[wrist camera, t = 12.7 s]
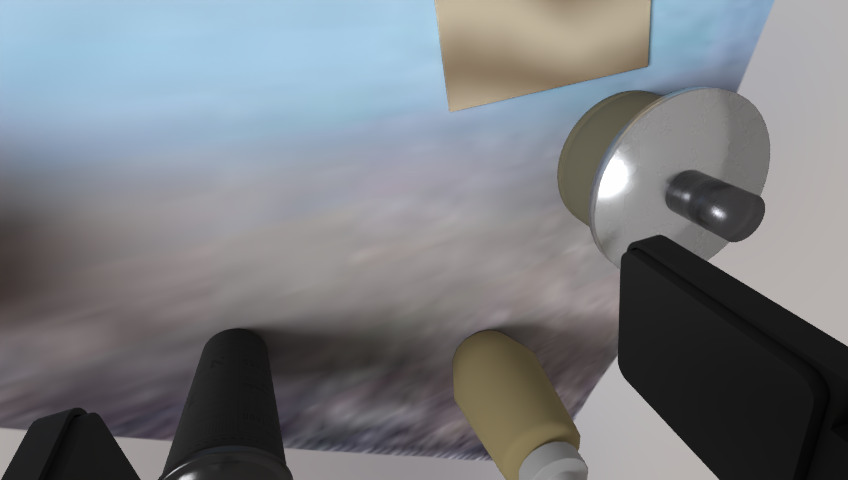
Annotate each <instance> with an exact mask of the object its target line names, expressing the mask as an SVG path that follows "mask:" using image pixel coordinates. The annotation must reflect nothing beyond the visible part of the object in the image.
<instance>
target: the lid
mask: <svg viewBox="0 0 848 480" xmlns="http://www.w3.org/2000/svg"><path fill="white" fill-rule="evenodd" d="M769 161H770V142H769V135H768V131H767V127H766V124H765V122H764V120H763V118H762V116H761V114H760V113H759V111H758V110H757V108H756V107H755V106H754V105H753V104H752V103H751V102H750V101H749V100H747V99H746V98H744V97H743V96H741V95H739V94H737V93H734V92H731V91H728V90H723V89H718V88H713V87H690V88H684V89H681V90H677V91H674V92H671V93H669V94H667V95H665V96H663V97H660V98H659V99H657V100H655V101H654V102H652V103H650V104H649V105H647V106H646V107H645V108H643V109H642V110H641V111H639V112H638V113H637V114H636V115H635V116H634V117H633V118H632V119H631V120H629V121H628V122H627V123H626V124H625V126H624V127H623V128H622V129H621V130H620V131H619V133H618V134H617V135H616V136H615V138H614V139H613V141H612V142H611V144H610V145H609V146H608V148H607V150H606V152H605V153H604V155H603V157H602V159H601V161H600V163H599V165H598V168H597V170H596V172H595V176H594V179H593V182H592V185H591V190H590V196H589V205H588V216H589V225H590V230H591V234H592V236H593V239H594V242H595V244H596V245H597V247H598V249H599V250H600V252H601V253H602V254H603V255H604V256H605V258H607V259H608V260H609V261H610V262H611V263H613V264H614V265H615V266H617V267H618V268H619V269H621V257H622V255H623V254H624V253H625V252H627V248H628V246H629V244H631V243H632V242H635V241H638V240H642V239H645V238H649V237H652V236H655V235H663V236H666V237H668V238H669V239H671V240H673V241H674V242H676V243H678V244H679V245H681V246H683V247H684V248H686V249H687V250H689V251H691V252H692V253H694V254H696V255H697V256H699V257H701V258H702V259H704V260H706V261H707V260H709V259H710V258H711V257H713V256H714V255H715V254H717V253H718V252H719V251H720V250H721V249H722V248H724V247H725V246H726V245H727V244H728V243H729V242H738V241H742V240H744V239H745V238H747V237H749V236H750V235H751V234H752V233H753V232H754V231H755V230H756V229H757V228H758V226H759V225H760V223H761V221H762V219H763V216H764V213H765V203H764V201H763V199H762V198H761V197H760V195H761V193H762V190H763V187H764V184H765V181H766V177H767V173H768V169H769Z"/></svg>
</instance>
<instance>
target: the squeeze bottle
mask: <svg viewBox="0 0 848 480" xmlns="http://www.w3.org/2000/svg"><path fill="white" fill-rule="evenodd" d="M453 382H454V399H455V401H456V403H457V404H458V406H459V407H460V409H461V410H462V412H463V414H464V415H465V417H466V418H467V420H468V421H469V423H470V425H471V426H472V428H473V429H474V431H475V432H476V434H477V436H478V437H479V439H480V440H481V442H482V443H483V445H484V447H485V448H486V450H487V451H488V453H489V454H490V456H491V458H492V459H493V461H494V462H495V464H496V465H497V467H498V468H499V470H500V472H501V473H502V475H503V476H504V478H505V479H506V480H587V474H588V467H587V466H586V464H585V462H584V460H583V459H582V457H581V456H580V454H579V453H578V449H579V444H580V434H579V432H578V431H577V428H576V426H575V424H574V423H573V421H572V419H571V417H570V416H569V414H568V412H567V410H566V408H565V407H564V405H563V403H562V401H561V400H560V398H559V396H558V394H557V393H556V391H555V389H554V387H553V386H552V384H551V382H550V380H549V378H548V377H547V375H546V373H545V371H544V370H543V368H542V366H541V364H540V363H539V361H538V359H537V357H536V355H535V354H534V352H533V351H531V350H530V349H528V348H527V347H525V346H523V345H522V344H520V343H518V342H517V341H515V340H513V339H511V338H510V337H508V336H506V335H504V334H502V333H501V332H498V331H490V330H487V331H483V332H478V333H475V334H474V335H472V336H470V337H469V338H467V339H465V340H464V341H463V343H462V344H461V345H460V346H459V347H458V348H457V350H456V353H455V355H454V358H453Z"/></svg>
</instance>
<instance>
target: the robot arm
mask: <svg viewBox="0 0 848 480" xmlns="http://www.w3.org/2000/svg"><path fill="white" fill-rule="evenodd" d="M618 365H619V368H620V371H621V373H622V375H623V376H624V378H625V379H626V380H627V381H628V382H629V384H630V385H631V386H632V387H633V388H634V389H635V390H636V391H637V392H638V393H639V394H640V395H641V396H642V397H643V399H644V400H645V401H646V402H647V403H648V404H649V405H650V406H651V407H652V408H653V409H654V410H655V411H656V412H657V413H658V414H659V415H660V417H661V418H662V419H663V420H664V421H665V422H666V423H667V424H668V425H669V426H670V427H671V428H672V429H673V431H674V432H675V433H676V434H677V435H678V436H679V437H680V438H681V439H682V440H683V441H684V442H685V443H686V444H687V445H688V447H689V448H690V449H691V450H692V451H693V452H694V453H695V454H696V455H697V456H698V457H699V458H700V459H701V460H702V462H703V463H704V464H705V465H706V466H707V467H708V468H709V469H710V470H711V471H712V472H713V473H714V474H715V475H716V476H717V478H718V479H719V480H848V346H846V345H844V344H843V343H841V342H840V341H838V340H836V339H835V338H833V337H831V336H830V335H828V334H826V333H825V332H823V331H821V330H820V329H818V328H816V327H815V326H813V325H811V324H810V323H808V322H806V321H805V320H803V319H801V318H800V317H798V316H797V315H795V314H793V313H792V312H790V311H788V310H787V309H785V308H783V307H782V306H780V305H778V304H777V303H775V302H773V301H772V300H770V299H768V298H767V297H765V296H763V295H762V294H760V293H759V292H757V291H755V290H754V289H752V288H750V287H749V286H747V285H745V284H744V283H742V282H740V281H739V280H737V279H735V278H734V277H732V276H730V275H729V274H727V273H725V272H724V271H722V270H720V269H719V268H717V267H715V266H714V265H712V264H711V263H709V262H707V261H706V260H704V259H702V258H701V257H699V256H697V255H696V254H694V253H692V252H691V251H689V250H687V249H686V248H684V247H683V246H681V245H679V244H678V243H676V242H674V241H673V240H671V239H669V238H668V237H666V236H663V235H655V236H652V237H649V238H645V239H642V240H638V241H635V242H632V243H631V244H629V246H628V248H627V252H625V253H624V254H623V255H622V257H621V269H620V304H619V339H618ZM1 480H140V478H139V477H138V475H137V473H136V472H135V470H134V469H133V467H132V465H131V464H130V462H129V461H128V459H127V458H126V456H125V455H124V453H123V451H122V450H121V448H120V447H119V445H118V444H117V442H116V440H115V439H114V437H113V436H112V434H111V432H110V431H109V429H108V428H107V426H106V425H105V423H104V421H103V420H102V418H101V417H100V416H99V415H98V414H97V413H89V414H88V413H87V412H86V411H85V410H83V409H82V408H73V409H70V410H66V411H63V412H60V413H56V414H53V415H49V416H46V417H43V418H39V419H37V420H36V421H34V422H33V423H32V425H31V426H30V427H29V429H28V431H27V433H26V435H25V437H24V438H23V441H22V442H21V444H20V446H19V448H18V450H17V452H16V453H15V455H14V457H13V459H12V461H11V463H10V464H9V466H8V468H7V470H6V472H5V474H4V475H3V477H2V479H1Z"/></svg>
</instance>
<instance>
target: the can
mask: <svg viewBox="0 0 848 480" xmlns="http://www.w3.org/2000/svg"><path fill="white" fill-rule="evenodd" d="M660 97H663V96H660V95H656V94H653V93H650V92H645V91H626V92H621V93H617V94H615V95H612V96H610V97H608V98H606V99H604V100H602V101H600V102H599V103H597V104H596V105H595V106H593V107H592V108H591V109H590V110H589V111H587V112H586V113H585V114H584V115H583V116H582V117H581V119H580V120H579V121H578V122H577V123H576V125H575V126H574V128H573V129H572V131H571V132H570V134H569V136H568V138H567V140H566V142H565V144H564V146H563V149H562V152H561V155H560V159H559V164H558V176H557V178H558V187H559V192H560V195H561V198H562V200H563V202H564V204H565V206H566V207H567V209H568V210H569V211H570V212H571V213H572V214H573V215H574V216H575V217H576V218H578V219H579V220H581V221H582V222H584V223H585V224H586V225H588V226H589V227H590V225H589V216H588V205H589V196H590V190H591V185H592V182H593V179H594V176H595V172H596V170H597V168H598V165H599V163H600V161H601V159H602V157H603V155H604V153H605V152H606V150H607V148H608V146H609V145H610V144H611V142H612V141H613V139H614V138H615V136H616V135H617V134H618V133H619V131H620V130H621V129H622V128H623V127H624V126H625V124H626V123H627V122H628V121H629V120H631V119H632V118H633V117H634V116H635V115H636V114H637V113H638V112H639V111H641V110H642V109H643V108H645V107H646V106H647V105H649V104H650V103H652V102H654V101H655V100H657V99H659V98H660Z"/></svg>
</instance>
